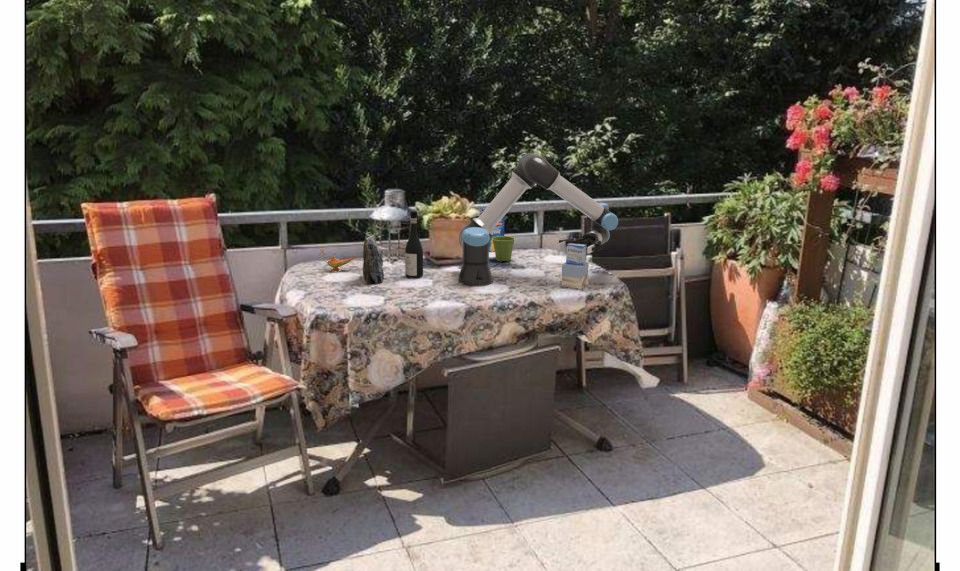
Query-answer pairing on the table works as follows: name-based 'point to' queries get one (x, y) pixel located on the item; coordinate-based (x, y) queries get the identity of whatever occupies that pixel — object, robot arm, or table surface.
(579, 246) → the medicine box
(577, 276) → the tower top block
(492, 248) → the beverage box
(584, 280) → the tower base block
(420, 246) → the wine bottle
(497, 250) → the plant pot
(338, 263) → the magic lamp
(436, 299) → the table surface
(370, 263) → the stone block
